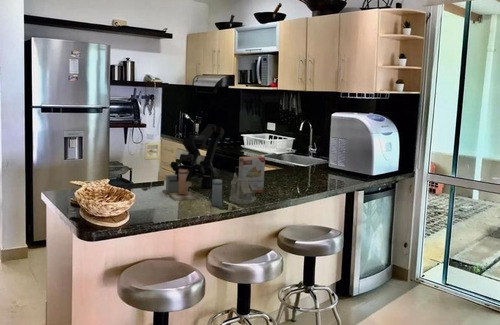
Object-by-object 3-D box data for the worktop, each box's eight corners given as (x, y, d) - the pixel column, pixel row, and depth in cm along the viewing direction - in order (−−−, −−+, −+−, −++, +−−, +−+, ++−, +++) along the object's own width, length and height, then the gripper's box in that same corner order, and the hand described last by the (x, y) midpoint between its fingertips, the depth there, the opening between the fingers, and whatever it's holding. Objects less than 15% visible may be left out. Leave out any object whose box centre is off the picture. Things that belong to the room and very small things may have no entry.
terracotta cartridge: (187, 192, 246) (187, 168, 244) (187, 194, 241) (188, 170, 239) (178, 192, 245) (178, 168, 243) (178, 194, 240) (178, 170, 238)
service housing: (181, 190, 260) (181, 173, 258) (185, 192, 254) (185, 176, 252) (162, 191, 255) (162, 174, 253) (166, 194, 249) (166, 177, 247)
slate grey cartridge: (219, 203, 233) (219, 178, 231) (223, 205, 229) (223, 180, 227) (210, 204, 231) (211, 179, 229) (214, 206, 227) (214, 181, 225)
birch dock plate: (190, 194, 251) (190, 191, 251) (196, 198, 241) (197, 195, 241) (169, 195, 246) (169, 193, 245) (175, 200, 236) (175, 197, 236)
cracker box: (242, 195, 254) (243, 158, 250) (237, 192, 259) (238, 156, 256) (264, 193, 260) (265, 157, 257) (259, 190, 266) (260, 155, 262)
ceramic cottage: (236, 204, 232) (238, 175, 230) (224, 198, 246) (226, 171, 245) (263, 204, 238) (266, 176, 237) (250, 198, 253) (252, 171, 252)
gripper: (171, 146, 246) (160, 170, 238) (202, 149, 239) (192, 173, 231) (179, 159, 255) (168, 182, 246) (208, 162, 248) (199, 185, 240)
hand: (181, 180), depth 241 cm, fingers open, 5 cm apart
